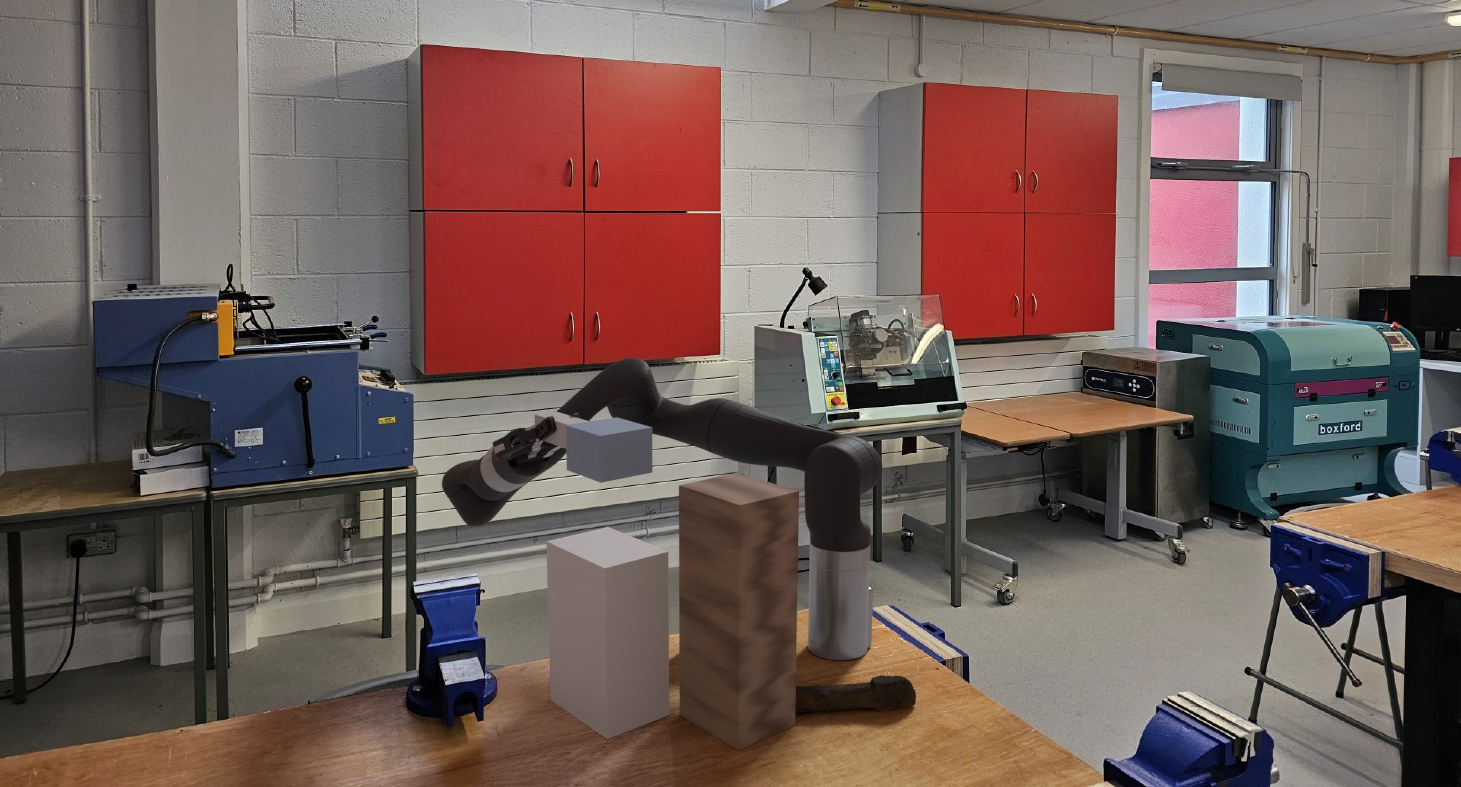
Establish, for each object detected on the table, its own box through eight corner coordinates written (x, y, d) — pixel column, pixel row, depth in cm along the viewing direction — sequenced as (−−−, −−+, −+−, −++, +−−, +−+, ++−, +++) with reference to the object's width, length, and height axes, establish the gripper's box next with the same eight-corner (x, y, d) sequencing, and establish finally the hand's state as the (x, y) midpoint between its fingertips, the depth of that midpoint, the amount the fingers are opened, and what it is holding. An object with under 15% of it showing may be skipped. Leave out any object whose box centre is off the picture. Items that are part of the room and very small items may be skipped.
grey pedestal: (610, 679, 147) (608, 526, 143) (669, 714, 137) (668, 551, 133) (550, 700, 141) (546, 541, 137) (607, 739, 130) (604, 568, 126)
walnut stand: (735, 693, 143) (736, 473, 138) (795, 725, 134) (799, 491, 129) (679, 715, 137) (678, 485, 131) (738, 750, 128) (740, 505, 122)
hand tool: (780, 721, 136) (781, 688, 135) (777, 706, 140) (777, 675, 139) (919, 718, 137) (921, 685, 136) (912, 703, 141) (913, 672, 140)
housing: (570, 444, 147) (569, 404, 146) (652, 472, 132) (652, 427, 131) (520, 452, 141) (519, 410, 140) (600, 482, 127) (600, 435, 126)
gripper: (463, 444, 148) (512, 401, 135) (548, 431, 157) (601, 390, 144) (477, 492, 146) (528, 454, 134) (561, 476, 155) (616, 439, 143)
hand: (565, 421), depth 139 cm, fingers closed on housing, 3 cm apart
